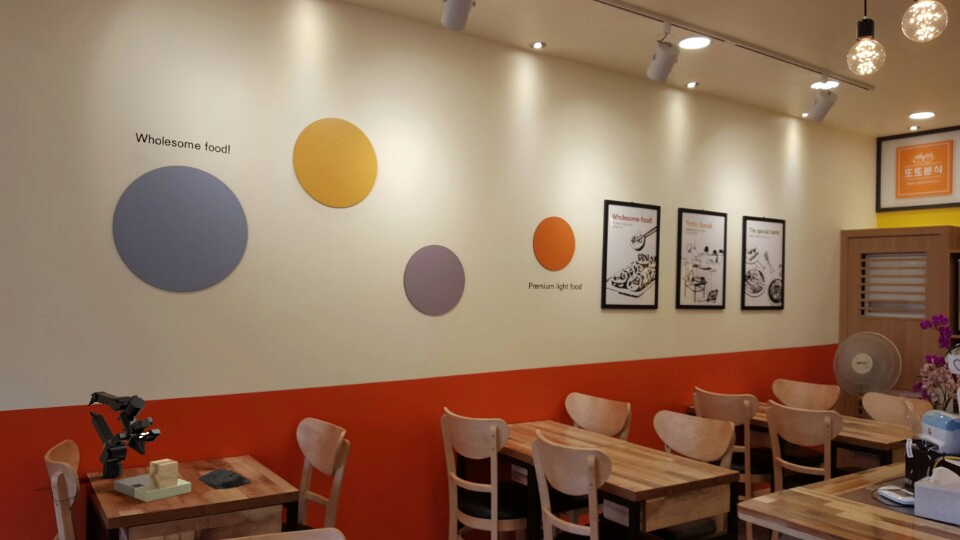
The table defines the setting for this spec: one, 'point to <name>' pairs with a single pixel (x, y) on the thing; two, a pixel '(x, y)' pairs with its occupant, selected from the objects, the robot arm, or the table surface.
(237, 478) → the dark slate chunk
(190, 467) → the table surface
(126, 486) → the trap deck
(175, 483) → the maple block
